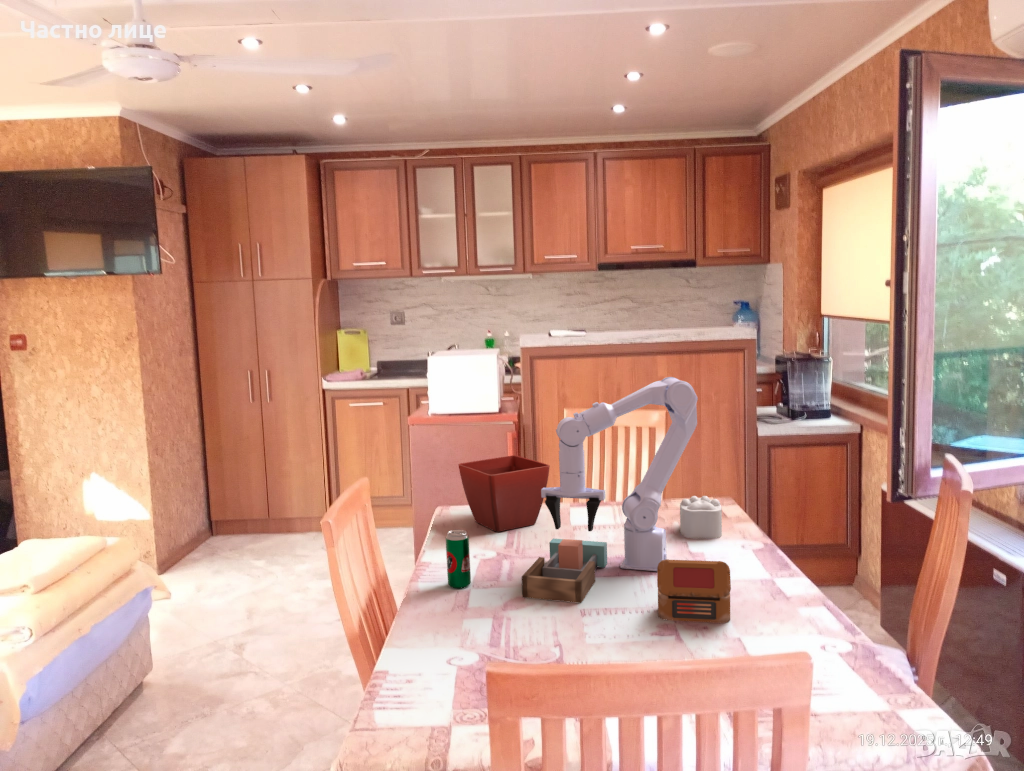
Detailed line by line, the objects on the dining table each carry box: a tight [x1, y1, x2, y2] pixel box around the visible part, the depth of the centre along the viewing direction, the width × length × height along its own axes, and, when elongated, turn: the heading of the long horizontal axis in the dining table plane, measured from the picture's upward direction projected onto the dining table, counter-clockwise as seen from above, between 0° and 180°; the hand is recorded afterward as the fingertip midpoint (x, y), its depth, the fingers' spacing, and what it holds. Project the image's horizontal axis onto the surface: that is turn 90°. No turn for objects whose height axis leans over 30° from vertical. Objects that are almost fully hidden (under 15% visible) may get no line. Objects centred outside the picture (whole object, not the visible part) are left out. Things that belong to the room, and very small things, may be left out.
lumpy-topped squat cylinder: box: [679, 495, 723, 540], centre depth 199 cm, size 10×13×9 cm
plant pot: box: [458, 454, 550, 532], centre depth 212 cm, size 19×19×17 cm
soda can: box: [445, 529, 472, 590], centre depth 167 cm, size 5×5×12 cm
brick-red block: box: [558, 538, 583, 570], centre depth 172 cm, size 4×4×6 cm
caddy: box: [521, 556, 596, 604], centre depth 163 cm, size 13×12×4 cm
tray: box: [542, 538, 608, 580], centre depth 173 cm, size 13×14×5 cm
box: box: [656, 558, 732, 624], centre depth 148 cm, size 28×28×12 cm
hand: (574, 529), depth 175 cm, fingers open, 7 cm apart
